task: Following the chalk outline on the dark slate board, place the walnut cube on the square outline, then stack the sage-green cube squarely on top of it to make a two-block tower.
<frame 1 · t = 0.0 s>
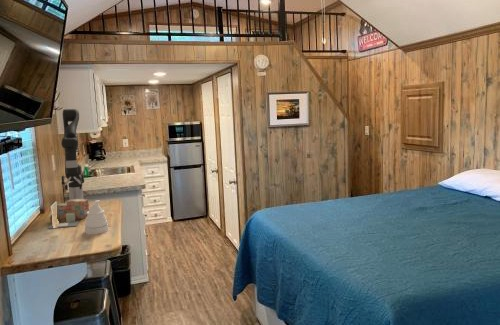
hand: (73, 189, 273), 17 cm above the worktop, tool pointing down, fingers open, 8 cm apart
stack of blocks: (72, 217, 266), on the worktop
walnut cube: (55, 222, 254), on the worktop
slate board: (63, 225, 247), on the worktop
white tiered cone: (96, 231, 235), on the worktop
sage cube: (70, 221, 258), on the worktop
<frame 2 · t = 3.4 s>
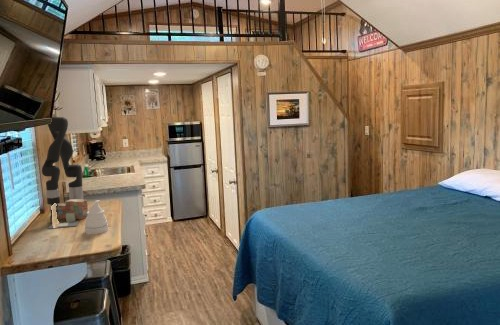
hand: (55, 221, 254), 1 cm above the worktop, tool pointing down, fingers closed on walnut cube, 5 cm apart
walnut cube: (55, 222, 254), on the worktop, touching gripper
when the fingers open (2 cm above the worktop, at t = 8.3 s): walnut cube stays where it is, resting on slate board.
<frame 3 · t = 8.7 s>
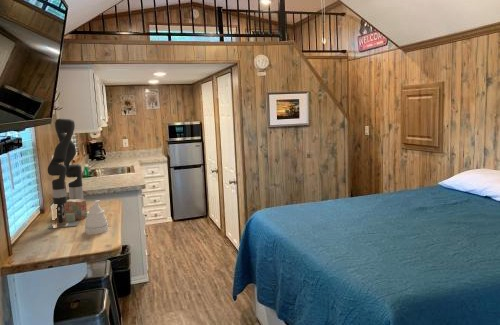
hand: (61, 221, 247), 3 cm above the worktop, tool pointing down, fingers open, 8 cm apart
walnut cube: (62, 224, 247), point 1 cm above the worktop, touching slate board
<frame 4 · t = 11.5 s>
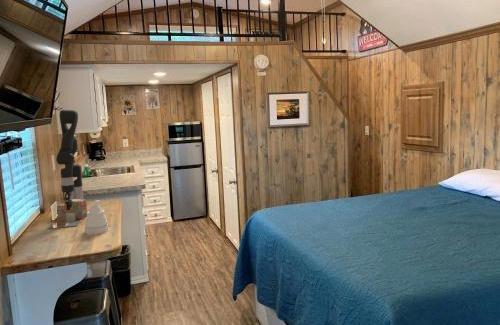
hand: (69, 208, 255), 8 cm above the worktop, tool pointing down, fingers open, 8 cm apart
stack of blocks: (70, 218, 266), on the worktop, touching gripper
everything else where it was.
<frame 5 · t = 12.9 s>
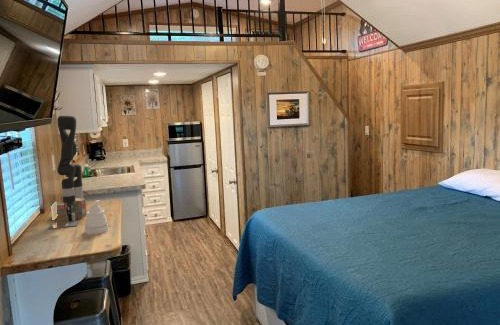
hand: (70, 219, 258), 1 cm above the worktop, tool pointing down, fingers closed on sage cube, 5 cm apart
stack of blocks: (69, 217, 268), on the worktop
sage cube: (71, 220, 258), on the worktop, touching gripper
everything else where it was.
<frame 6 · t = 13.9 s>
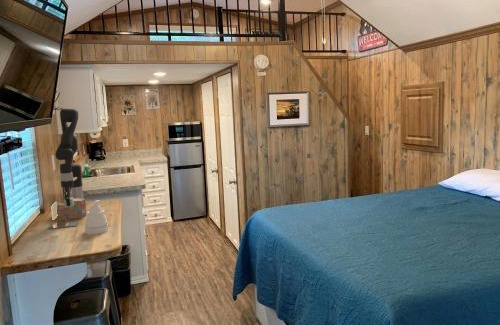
hand: (69, 204, 256), 11 cm above the worktop, tool pointing down, fingers closed on sage cube, 5 cm apart
sage cube: (69, 205, 257), point 10 cm above the worktop, touching gripper
everything else where it was.
when the fingers open (7 cm above the worktop, at t = 18.7 s): sage cube stays where it is, resting on walnut cube.
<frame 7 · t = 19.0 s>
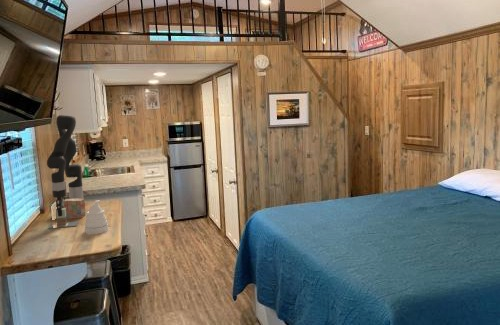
hand: (61, 214, 246), 7 cm above the worktop, tool pointing down, fingers open, 7 cm apart
walnut cube: (62, 224, 247), point 1 cm above the worktop, touching sage cube, slate board
sage cube: (61, 216, 246), point 6 cm above the worktop, touching walnut cube
everything else where it was.
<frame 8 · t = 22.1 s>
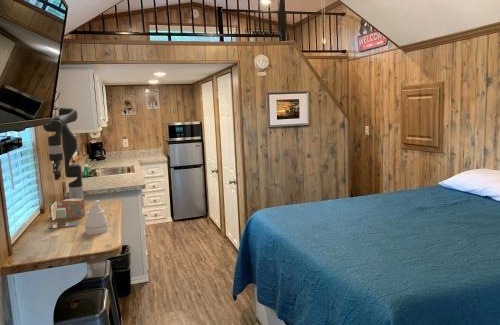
hand: (57, 178, 243), 30 cm above the worktop, tool pointing down, fingers open, 8 cm apart
nothing on the worktop moved.
at the end: walnut cube inside the target area (0.1 cm from its centre), point 0.7 cm above the worktop; sage cube 0.0 cm off-centre on the walnut cube, point 5.0 cm above the walnut cube's base; sage cube tilted 0° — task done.
